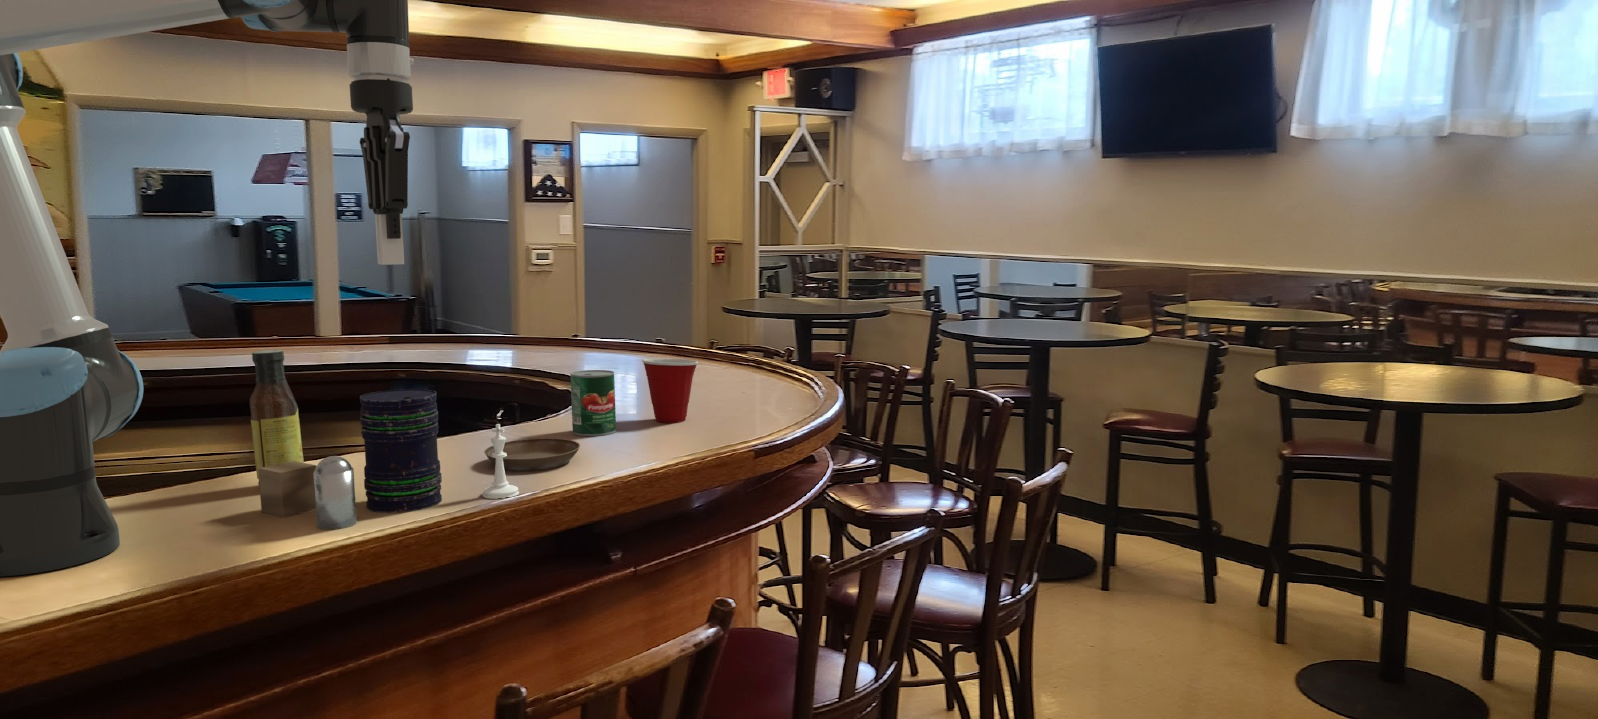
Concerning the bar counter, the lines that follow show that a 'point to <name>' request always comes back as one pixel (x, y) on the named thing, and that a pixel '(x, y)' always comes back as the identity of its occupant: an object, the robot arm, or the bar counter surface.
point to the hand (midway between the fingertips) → (391, 264)
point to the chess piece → (499, 470)
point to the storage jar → (401, 450)
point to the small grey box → (287, 489)
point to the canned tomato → (593, 402)
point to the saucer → (536, 453)
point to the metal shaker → (334, 494)
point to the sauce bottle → (273, 413)
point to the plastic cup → (670, 387)
